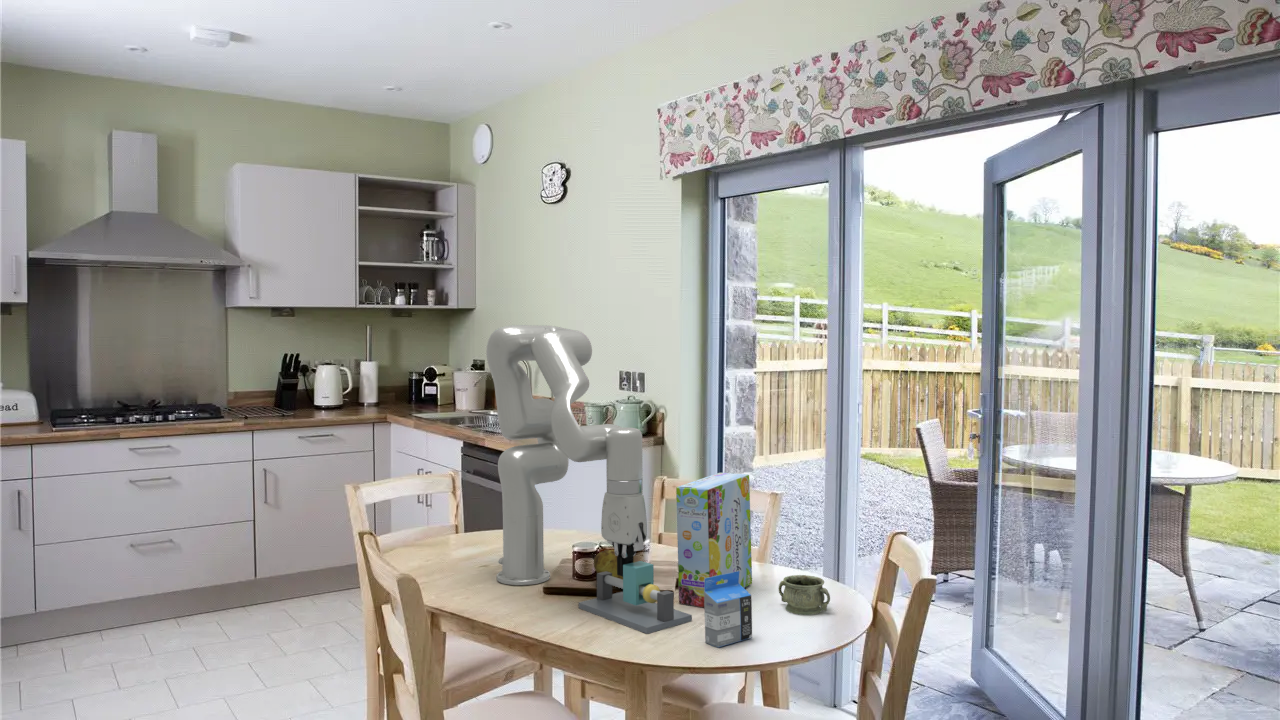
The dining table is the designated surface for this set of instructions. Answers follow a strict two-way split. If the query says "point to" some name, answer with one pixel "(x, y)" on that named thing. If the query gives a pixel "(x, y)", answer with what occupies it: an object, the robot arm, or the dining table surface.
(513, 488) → the robot arm
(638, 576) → the teal sliding cube
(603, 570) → the potato
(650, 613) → the slider rail stand
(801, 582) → the vessel
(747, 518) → the snack box
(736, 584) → the label tape box
